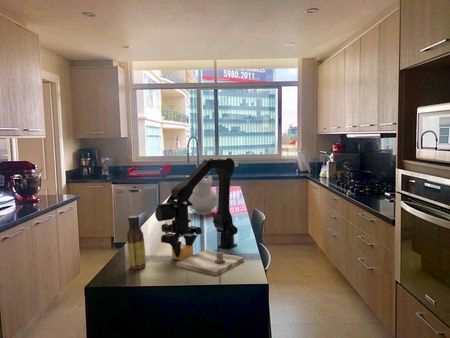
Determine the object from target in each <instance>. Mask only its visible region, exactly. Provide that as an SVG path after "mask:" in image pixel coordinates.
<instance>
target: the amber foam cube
mask: <svg viewBox="0 0 450 338" xmlns="http://www.w3.org/2000/svg"><path fill="white" fill-rule="evenodd" d="M193 247H194V246H193V245H192V246H190V245H186V243H185V244H183V243H181V248H180V254H179V257H176V255H175V253H174V250H173V248H172V247H171V257H172V259H174V260H178V261H181V260H183V259H186V258H188V257H190V256H193V255H194V248H193Z"/></svg>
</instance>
